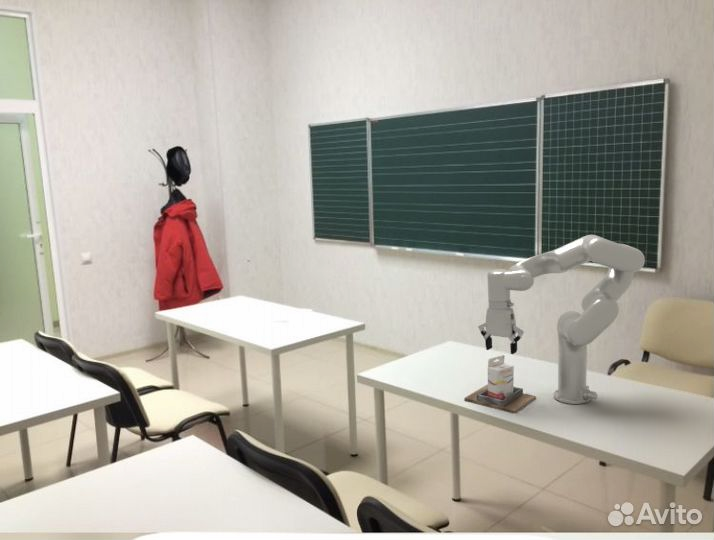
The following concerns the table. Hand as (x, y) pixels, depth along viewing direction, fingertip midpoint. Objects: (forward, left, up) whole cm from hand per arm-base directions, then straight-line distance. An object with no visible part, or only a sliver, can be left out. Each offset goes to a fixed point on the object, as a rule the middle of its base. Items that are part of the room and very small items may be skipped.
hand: (501, 351), depth 218 cm
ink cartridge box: (0, 0, -18) cm, 18 cm away
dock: (0, 0, -18) cm, 18 cm away
